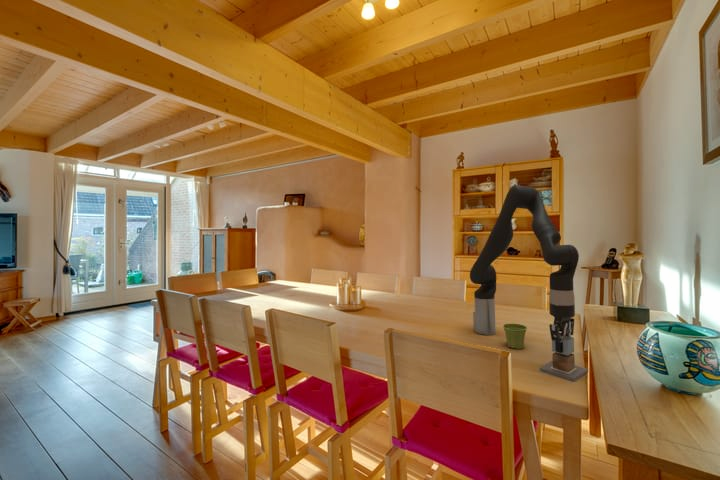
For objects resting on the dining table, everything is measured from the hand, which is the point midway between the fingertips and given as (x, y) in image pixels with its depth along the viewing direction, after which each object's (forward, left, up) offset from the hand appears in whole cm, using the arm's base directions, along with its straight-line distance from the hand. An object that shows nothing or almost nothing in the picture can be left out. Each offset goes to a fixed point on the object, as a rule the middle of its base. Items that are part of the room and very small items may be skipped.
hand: (562, 350), depth 112 cm
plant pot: (-23, +10, -8) cm, 26 cm away
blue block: (0, 0, -1) cm, 1 cm away
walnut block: (0, 0, -6) cm, 6 cm away
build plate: (0, 0, -8) cm, 8 cm away
